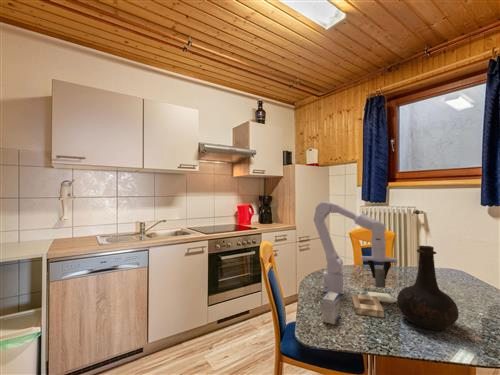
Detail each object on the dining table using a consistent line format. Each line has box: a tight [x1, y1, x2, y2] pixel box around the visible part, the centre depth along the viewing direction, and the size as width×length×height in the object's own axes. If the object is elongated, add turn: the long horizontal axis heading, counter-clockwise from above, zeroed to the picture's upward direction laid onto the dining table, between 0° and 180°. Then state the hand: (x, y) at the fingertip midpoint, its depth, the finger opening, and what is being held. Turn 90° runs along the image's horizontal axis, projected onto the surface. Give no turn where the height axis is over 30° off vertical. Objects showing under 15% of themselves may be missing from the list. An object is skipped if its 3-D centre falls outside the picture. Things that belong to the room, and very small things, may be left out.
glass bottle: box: [396, 245, 460, 331], centre depth 90 cm, size 18×18×28 cm
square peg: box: [373, 266, 386, 289], centre depth 113 cm, size 4×4×8 cm
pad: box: [367, 291, 394, 304], centre depth 112 cm, size 9×9×1 cm
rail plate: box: [351, 293, 385, 318], centre depth 102 cm, size 10×14×2 cm
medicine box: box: [321, 292, 340, 325], centre depth 93 cm, size 8×4×9 cm, turn 148°
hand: (379, 277), depth 113 cm, fingers closed on square peg, 4 cm apart
